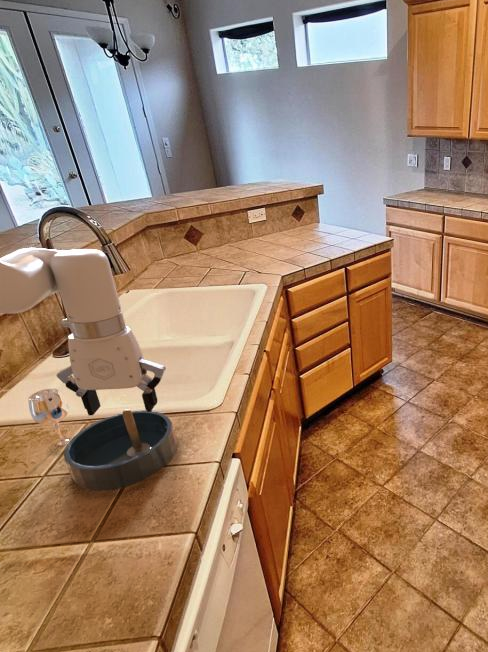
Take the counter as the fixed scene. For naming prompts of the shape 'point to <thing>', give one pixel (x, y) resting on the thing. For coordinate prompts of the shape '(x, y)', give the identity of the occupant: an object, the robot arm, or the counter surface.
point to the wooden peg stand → (133, 436)
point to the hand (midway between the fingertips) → (123, 409)
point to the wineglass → (49, 409)
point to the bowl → (119, 451)
